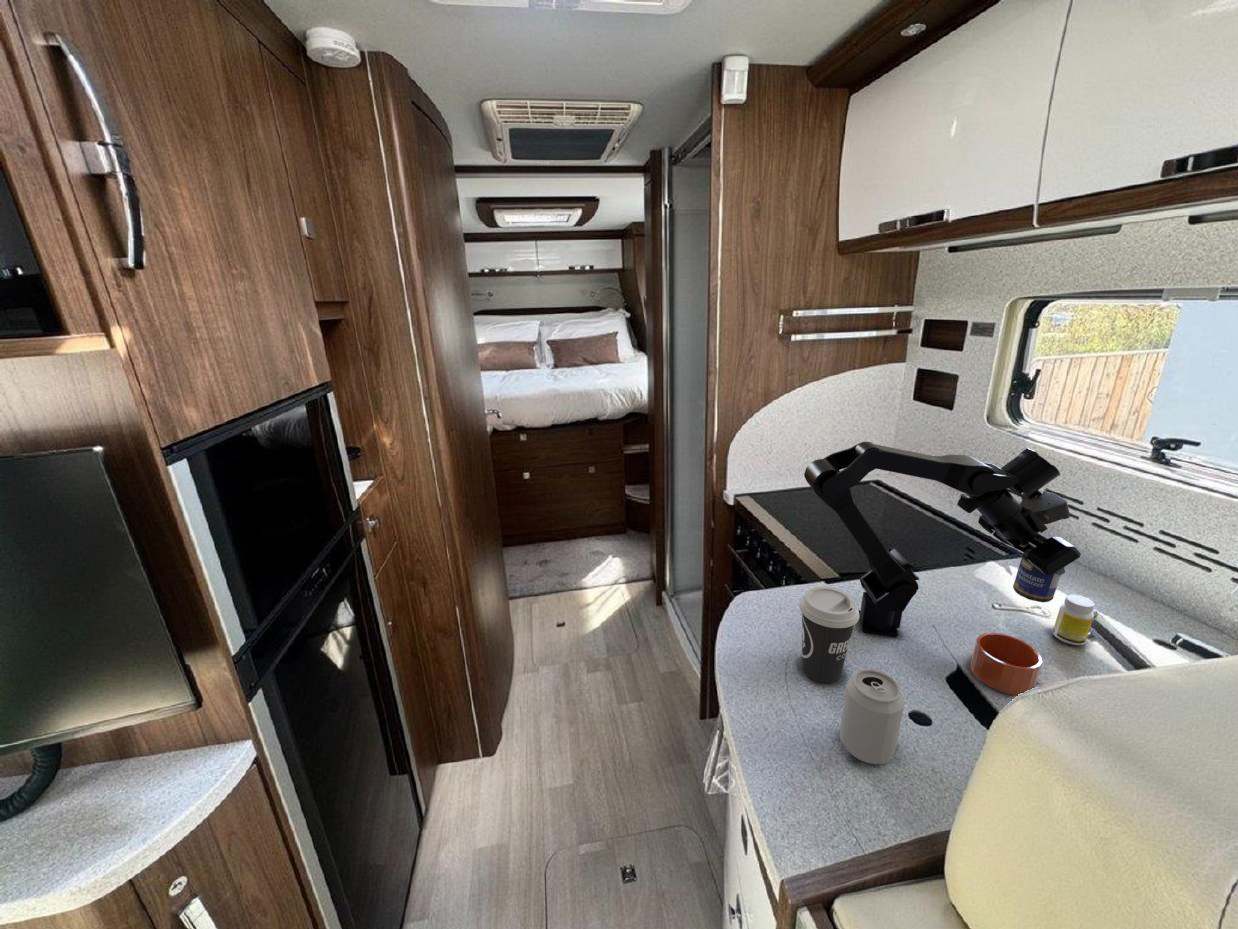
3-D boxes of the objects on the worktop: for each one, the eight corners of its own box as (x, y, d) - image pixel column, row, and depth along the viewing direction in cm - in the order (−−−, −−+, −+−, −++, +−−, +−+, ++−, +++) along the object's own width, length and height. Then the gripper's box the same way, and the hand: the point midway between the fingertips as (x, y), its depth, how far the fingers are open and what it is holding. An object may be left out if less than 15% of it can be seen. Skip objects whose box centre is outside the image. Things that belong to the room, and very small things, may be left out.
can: (877, 724, 79) (888, 663, 75) (904, 767, 72) (918, 702, 67) (830, 727, 78) (838, 665, 74) (853, 770, 71) (863, 705, 67)
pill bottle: (1006, 590, 97) (1020, 540, 94) (1022, 581, 100) (1036, 532, 96) (1043, 607, 92) (1059, 554, 89) (1059, 597, 95) (1076, 546, 91)
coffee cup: (814, 696, 84) (823, 622, 79) (782, 658, 93) (789, 589, 88) (862, 683, 87) (874, 610, 82) (826, 647, 95) (835, 580, 90)
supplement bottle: (1091, 647, 93) (1104, 609, 90) (1061, 644, 94) (1073, 607, 91) (1074, 630, 97) (1086, 594, 94) (1046, 628, 98) (1057, 592, 95)
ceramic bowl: (981, 689, 84) (988, 663, 82) (962, 653, 92) (968, 629, 91) (1044, 699, 82) (1053, 673, 80) (1020, 662, 90) (1027, 637, 88)
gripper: (1085, 503, 80) (1136, 565, 83) (1008, 464, 97) (1053, 516, 100) (1020, 546, 83) (1072, 603, 86) (957, 500, 101) (1002, 549, 103)
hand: (1049, 564), depth 94 cm, fingers closed on pill bottle, 6 cm apart
